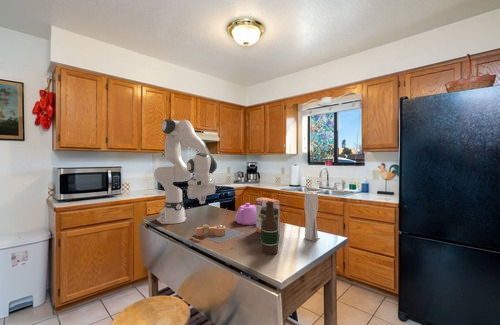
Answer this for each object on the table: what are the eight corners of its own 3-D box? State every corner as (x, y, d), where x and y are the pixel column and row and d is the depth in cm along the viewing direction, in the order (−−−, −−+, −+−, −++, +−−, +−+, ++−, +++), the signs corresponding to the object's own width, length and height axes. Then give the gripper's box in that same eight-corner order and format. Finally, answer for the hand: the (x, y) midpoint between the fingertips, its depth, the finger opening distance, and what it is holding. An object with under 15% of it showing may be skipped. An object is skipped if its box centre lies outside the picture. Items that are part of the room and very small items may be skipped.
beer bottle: (260, 249, 118) (260, 200, 118) (276, 248, 119) (276, 200, 118) (263, 255, 111) (262, 203, 110) (279, 254, 111) (279, 203, 111)
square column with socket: (225, 232, 142) (225, 225, 142) (225, 235, 136) (225, 228, 136) (197, 233, 140) (197, 226, 140) (196, 236, 134) (196, 229, 134)
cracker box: (255, 233, 143) (255, 198, 143) (262, 230, 148) (262, 196, 147) (273, 238, 133) (272, 201, 133) (280, 236, 137) (280, 199, 137)
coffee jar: (281, 241, 128) (281, 207, 128) (271, 245, 123) (271, 209, 122) (267, 237, 135) (267, 204, 135) (258, 241, 130) (257, 206, 129)
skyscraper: (300, 239, 133) (300, 188, 132) (307, 235, 139) (307, 187, 138) (315, 242, 127) (315, 190, 127) (321, 238, 134) (321, 188, 133)
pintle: (217, 235, 139) (217, 225, 139) (220, 234, 140) (220, 224, 140) (219, 236, 137) (219, 226, 137) (222, 235, 139) (222, 225, 139)
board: (192, 234, 141) (192, 233, 140) (220, 227, 156) (220, 225, 156) (218, 245, 124) (218, 243, 124) (247, 235, 139) (247, 233, 139)
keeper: (209, 238, 134) (208, 227, 134) (203, 239, 133) (203, 227, 133) (207, 235, 139) (207, 224, 139) (202, 236, 138) (202, 224, 138)
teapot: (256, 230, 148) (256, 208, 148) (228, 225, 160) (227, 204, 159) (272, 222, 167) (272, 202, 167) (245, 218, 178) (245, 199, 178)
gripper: (210, 178, 153) (210, 199, 154) (185, 182, 136) (185, 206, 137) (217, 179, 150) (217, 201, 151) (193, 183, 133) (193, 207, 134)
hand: (202, 203), depth 144 cm, fingers closed
